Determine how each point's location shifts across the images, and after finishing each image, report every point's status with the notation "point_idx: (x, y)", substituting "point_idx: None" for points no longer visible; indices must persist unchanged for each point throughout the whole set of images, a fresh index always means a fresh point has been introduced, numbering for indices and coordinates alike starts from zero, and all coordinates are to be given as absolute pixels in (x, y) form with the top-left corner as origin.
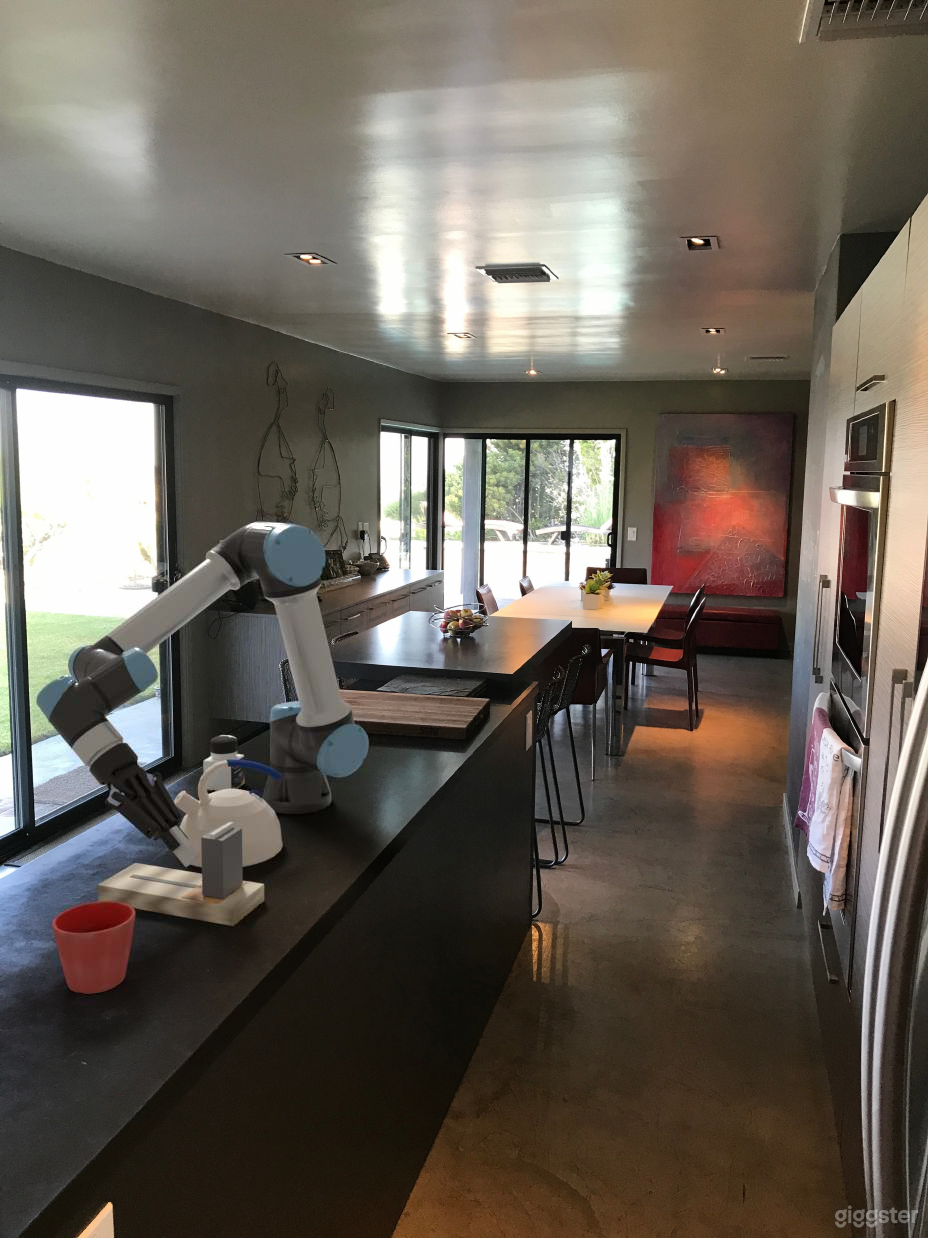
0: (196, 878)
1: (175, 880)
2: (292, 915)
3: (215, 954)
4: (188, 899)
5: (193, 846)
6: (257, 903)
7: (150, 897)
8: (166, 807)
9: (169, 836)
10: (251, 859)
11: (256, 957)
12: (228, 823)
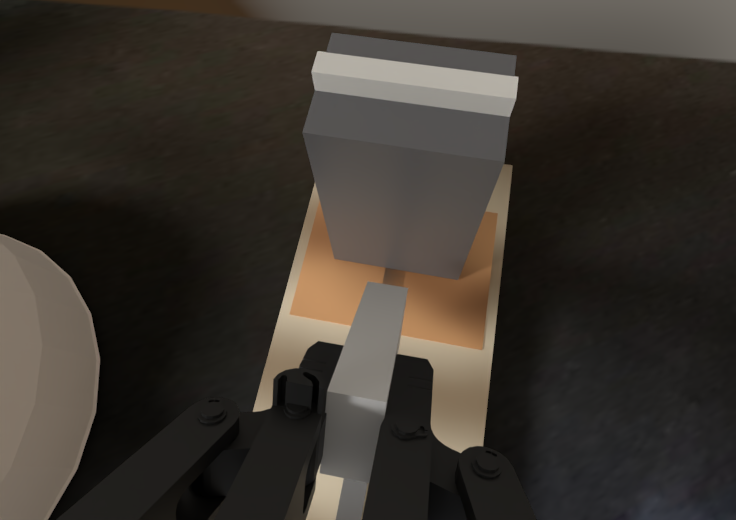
0: None
1: None
2: None
3: (658, 183)
4: (486, 320)
5: (360, 303)
6: None
7: None
8: (221, 507)
9: (420, 404)
10: (60, 276)
11: (635, 94)
12: (336, 67)
